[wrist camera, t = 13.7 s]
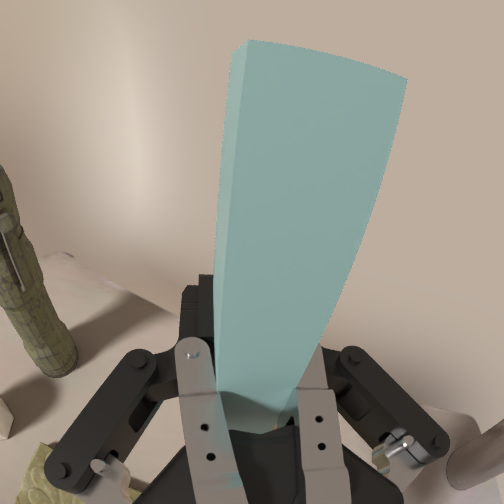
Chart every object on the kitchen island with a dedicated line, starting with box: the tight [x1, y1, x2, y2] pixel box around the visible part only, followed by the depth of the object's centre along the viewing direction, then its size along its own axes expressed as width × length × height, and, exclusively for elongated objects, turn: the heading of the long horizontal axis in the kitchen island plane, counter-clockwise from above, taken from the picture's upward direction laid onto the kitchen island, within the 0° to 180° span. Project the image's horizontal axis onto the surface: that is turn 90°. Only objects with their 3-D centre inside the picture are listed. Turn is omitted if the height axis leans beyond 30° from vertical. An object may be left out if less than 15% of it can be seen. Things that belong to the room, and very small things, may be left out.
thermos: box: [0, 165, 78, 378], centre depth 31 cm, size 9×12×35 cm
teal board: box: [213, 40, 407, 434], centre depth 12 cm, size 2×5×22 cm, turn 6°
